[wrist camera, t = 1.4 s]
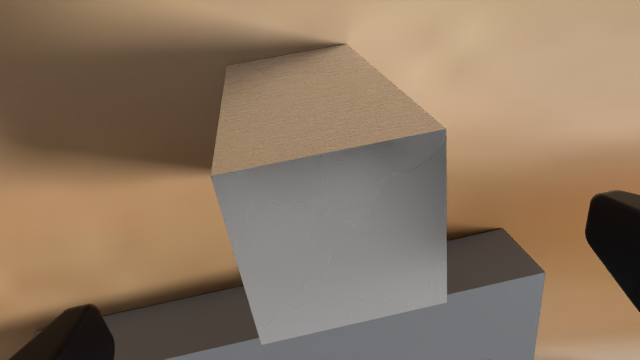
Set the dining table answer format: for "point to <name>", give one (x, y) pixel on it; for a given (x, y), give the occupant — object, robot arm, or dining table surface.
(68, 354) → the robot arm
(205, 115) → the dining table surface
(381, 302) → the steel peg
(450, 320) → the socket plate
